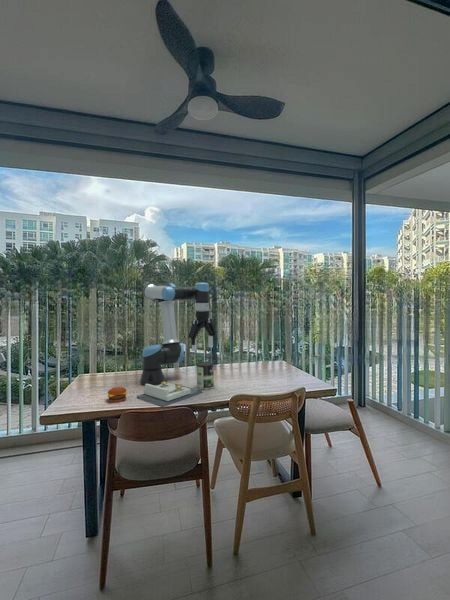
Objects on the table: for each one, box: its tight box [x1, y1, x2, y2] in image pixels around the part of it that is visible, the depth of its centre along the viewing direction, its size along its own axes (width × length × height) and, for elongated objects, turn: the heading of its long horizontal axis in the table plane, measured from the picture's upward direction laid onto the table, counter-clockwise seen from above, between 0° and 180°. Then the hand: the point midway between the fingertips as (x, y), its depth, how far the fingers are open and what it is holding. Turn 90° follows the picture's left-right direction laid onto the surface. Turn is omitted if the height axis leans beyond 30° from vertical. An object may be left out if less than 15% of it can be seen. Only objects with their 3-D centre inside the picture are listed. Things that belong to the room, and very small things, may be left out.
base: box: [136, 380, 203, 408], centre depth 168 cm, size 22×28×6 cm
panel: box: [143, 382, 191, 401], centre depth 166 cm, size 20×16×5 cm
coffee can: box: [195, 361, 215, 391], centre depth 182 cm, size 10×10×14 cm
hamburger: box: [106, 386, 128, 404], centre depth 162 cm, size 9×10×7 cm
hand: (202, 349), depth 168 cm, fingers open, 13 cm apart
